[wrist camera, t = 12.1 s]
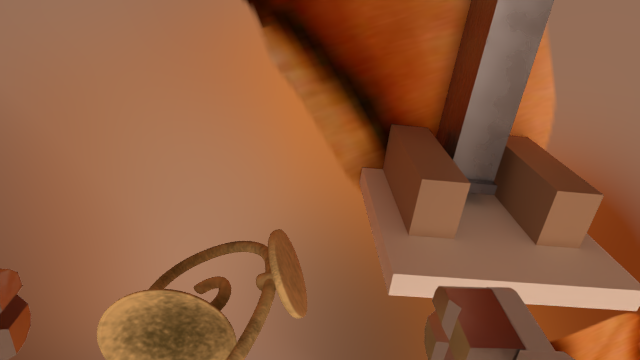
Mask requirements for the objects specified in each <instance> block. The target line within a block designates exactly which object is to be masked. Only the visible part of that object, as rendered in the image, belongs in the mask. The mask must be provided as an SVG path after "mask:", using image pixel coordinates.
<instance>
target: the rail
mask: <svg viewBox="0 0 640 360" xmlns="http://www.w3.org/2000/svg"><path fill="white" fill-rule="evenodd" d="M553 2H554V0H471V4H470V8H469V11H468V15H467V19H466V23H465V27H464V31H463V35H462V39H461V43H460V47H459V51H458V55H457V58H456V62H455V66H454V70H453V74H452V78H451V82H450V86H449V90H448V94H447V98H446V101H445V105H444V109H443V113H442V117H441V121H440V125H439V129H438V133H437V137H436V139H437V140H438V142H439V143H440V144H441V146H442V147H443V148H444V150H445V151H446V152H447V153H448V155H449V156H450V157H451V159H452V160H453V161H454V162H455V164H456V165H457V166H458V168H459V169H460V170H461V172H462V173H463V174H464V175H465V177H466V178H467V179H468V181H469V182H470V183H471V184H470V188H469V191H468V193H477V194H487V195H495V192H496V189H497V184H496V183H495V182H494V179H495V176H496V173H497V170H498V167H499V164H500V161H501V158H502V155H503V152H504V149H505V146H506V143H507V140H508V137H509V134H510V131H511V128H512V125H513V122H514V119H515V116H516V113H517V110H518V107H519V104H520V101H521V98H522V95H523V92H524V89H525V86H526V83H527V80H528V77H529V74H530V71H531V68H532V65H533V62H534V59H535V56H536V53H537V50H538V47H539V44H540V41H541V38H542V35H543V32H544V29H545V26H546V23H547V20H548V17H549V14H550V11H551V8H552V5H553Z"/></svg>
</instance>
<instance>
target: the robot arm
mask: <svg viewBox="0 0 640 360" xmlns="http://www.w3.org/2000/svg"><path fill="white" fill-rule="evenodd" d="M22 286H23V285H22V282H21V280H20V277H19V274H18V272H16V271H13V270H11V269H1V268H0V360H8V359H10V358H11V357H13V356H15V355H16V354H17V353H18V352H19V350H20V349H21V347H22V345H23V344H24V342H25V341H26V338H27V335H28V332H29V329H30V326H31V313H30V309H29V305H28V303H27V302H25V301H24V300H23V299H22V298H21V297H19V296H18V295H17V293H18V292H19V290H20V289H21V288H22ZM432 301H433V304H434V307H435V311H434V312H433V313H432V314H431V315H429V316H428V318H427V322H426V326H425V348H426V354H427V357H428V360H575V359H573V358H572V357H570V356H569V355H568V354H566V353H565V352H560V351H555V349H554V348H553V346H552V345H551V343H550V342H549V340H548V339H547V337H546V336H545V334H544V333H543V331H542V330H541V328H540V327H539V325H538V324H537V322H536V321H535V319H534V317H533V316H532V314H531V313H530V312H529V310H528V308H527V307H526V305H525V304H524V302H523V301H522V299H521V298H520V296H519V295H518V293H517V292H516V291H515V290H514V289H512V288H510V287H486V288H484V287H456V286H438V288H437V289H436V291H435V293H434V296H433V300H432Z"/></svg>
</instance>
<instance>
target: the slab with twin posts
mask: <svg viewBox="0 0 640 360" xmlns="http://www.w3.org/2000/svg"><path fill="white" fill-rule="evenodd" d="M494 182H495V183H496V184H497V189H496V192H495V195H487V194H477V193H468V191H469V188H470V184H471V183H470V182H469V181H468V179H467V178H466V177H465V175H464V174H463V173H462V172H461V170H460V169H459V168H458V166H457V165H456V164H455V162H454V161H453V160H452V159H451V157H450V156H449V155H448V153H447V152H446V151H445V150H444V148H443V147H442V146H441V144H440V143H439V142H438V140H437V139H436V138H435V137H434V135H433V134H432V133H431V131H430V130H429V129H428V128H425V127H415V126H404V125H394V124H391V129H390V134H389V139H388V144H387V149H386V154H385V160H384V165H383V169H375V168H363V167H362V172H361V178H360V187H361V191H362V195H363V199H364V202H365V206H366V210H367V214H368V218H369V222H370V226H371V230H372V233H373V237H374V241H375V244H376V249H377V252H378V257H379V260H380V264H381V268H382V271H383V276H384V280H385V284H386V287H387V291H388V295H396V296H413V297H427V298H433V296H434V293H435V291H436V289H437V288H438V286H456V287H484V288H486V287H510V288H512V289H514V290H515V291H516V292H517V293H518V295H519V296H520V298H521V299H522V301H523V302H524V304H536V305H552V306H567V307H582V308H598V309H614V310H629V311H637V310H638V308H639V306H640V283H639V282H638V281H637V280H636V279H634V278H633V277H632V276H631V275H630V274H629V273H628V272H627V271H626V270H625V269H624V268H623V267H621V265H619V263H617V262H616V261H615V260H614V259H613V258H612V257H611V256H610V255H609V254H608V253H607V252H606V251H605V250H604V249H603V248H601V247H600V246H599V245H598V244H597V243H596V242H595V241H594V240H593V239H592V238H591V237H590V236H589V235H588V234H587V231H588V229H589V227H590V224H591V222H592V220H593V218H594V215H595V213H596V211H597V209H598V207H599V205H600V202H601V200H602V198H603V196H604V195H603V194H602V193H600V192H599V191H598V190H596V189H595V188H594V187H592V186H591V185H590V184H589V183H587V182H586V181H585V180H583V179H582V178H581V177H579V176H578V175H577V174H575V173H574V172H573V171H571V170H570V169H569V168H568V167H566V166H565V165H564V164H562V163H561V162H559V161H558V160H557V159H555V158H554V157H553V156H552V155H550V154H549V153H548V152H546V151H545V150H544V149H543V148H541V147H540V146H539V145H537V144H536V143H535V142H533V141H532V140H531V139H529V138H528V137H518V136H509V137H508V140H507V143H506V146H505V149H504V152H503V155H502V158H501V161H500V164H499V167H498V170H497V173H496V176H495V179H494Z"/></svg>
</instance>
